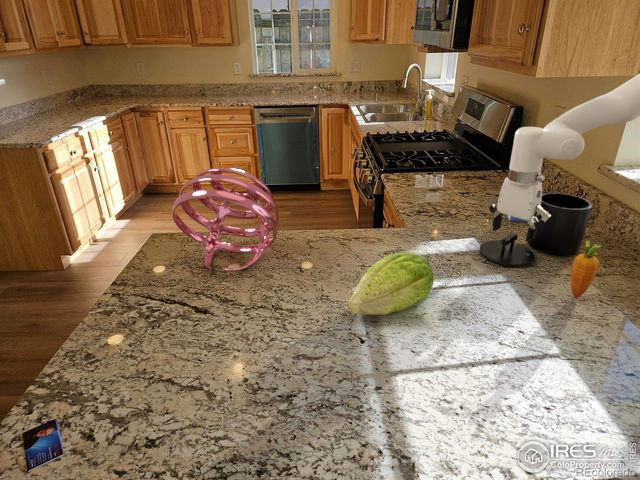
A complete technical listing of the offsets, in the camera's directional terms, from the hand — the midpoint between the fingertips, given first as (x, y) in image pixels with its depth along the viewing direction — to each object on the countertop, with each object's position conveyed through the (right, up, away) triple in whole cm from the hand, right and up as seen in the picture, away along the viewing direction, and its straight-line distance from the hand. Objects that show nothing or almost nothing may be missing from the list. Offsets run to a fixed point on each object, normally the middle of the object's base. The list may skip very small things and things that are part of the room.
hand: (512, 234), depth 119 cm
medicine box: (+15, +5, +26) cm, 30 cm away
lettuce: (-38, -17, -19) cm, 46 cm away
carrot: (+8, -16, -17) cm, 24 cm away
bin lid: (-1, -5, +3) cm, 6 cm away
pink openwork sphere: (-78, -7, +3) cm, 79 cm away
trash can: (+16, -3, +8) cm, 18 cm away
